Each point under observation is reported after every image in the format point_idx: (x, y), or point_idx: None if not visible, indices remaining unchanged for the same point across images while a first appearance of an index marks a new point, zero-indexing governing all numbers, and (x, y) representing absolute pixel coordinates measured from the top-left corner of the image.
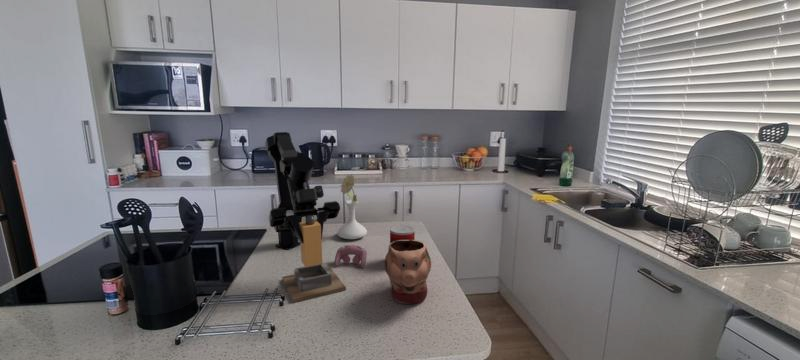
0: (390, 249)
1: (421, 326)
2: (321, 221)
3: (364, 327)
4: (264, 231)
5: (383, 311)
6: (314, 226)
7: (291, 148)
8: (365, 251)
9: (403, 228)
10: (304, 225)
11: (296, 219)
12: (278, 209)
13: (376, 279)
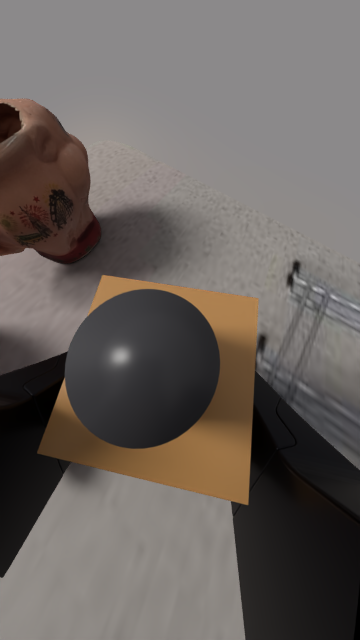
0: (22, 141)
1: (120, 184)
2: (23, 381)
3: (176, 215)
4: None
5: (132, 228)
6: (157, 286)
7: None
8: None
9: None
10: (228, 351)
11: (347, 501)
12: None
13: (64, 314)
